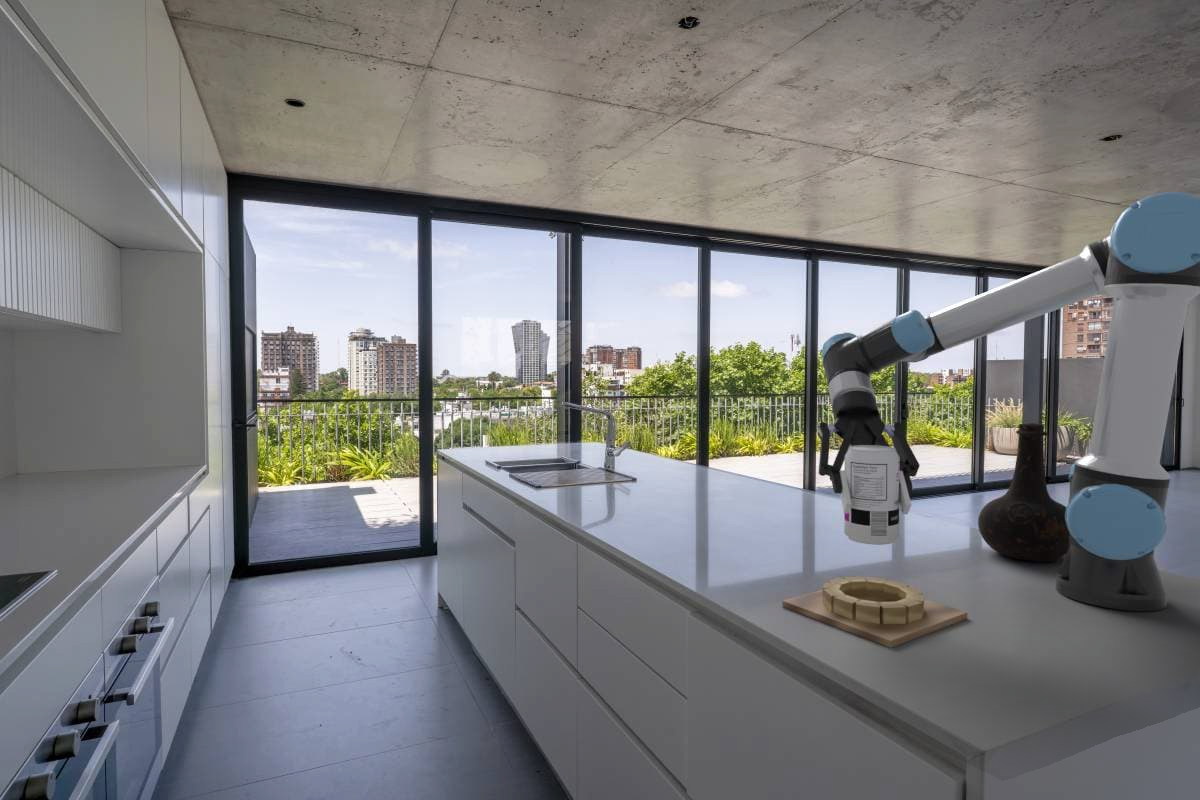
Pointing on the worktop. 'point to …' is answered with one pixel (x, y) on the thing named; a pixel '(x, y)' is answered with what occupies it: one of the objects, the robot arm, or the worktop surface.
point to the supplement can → (872, 494)
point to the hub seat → (875, 609)
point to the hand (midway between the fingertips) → (877, 508)
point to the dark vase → (1026, 508)
